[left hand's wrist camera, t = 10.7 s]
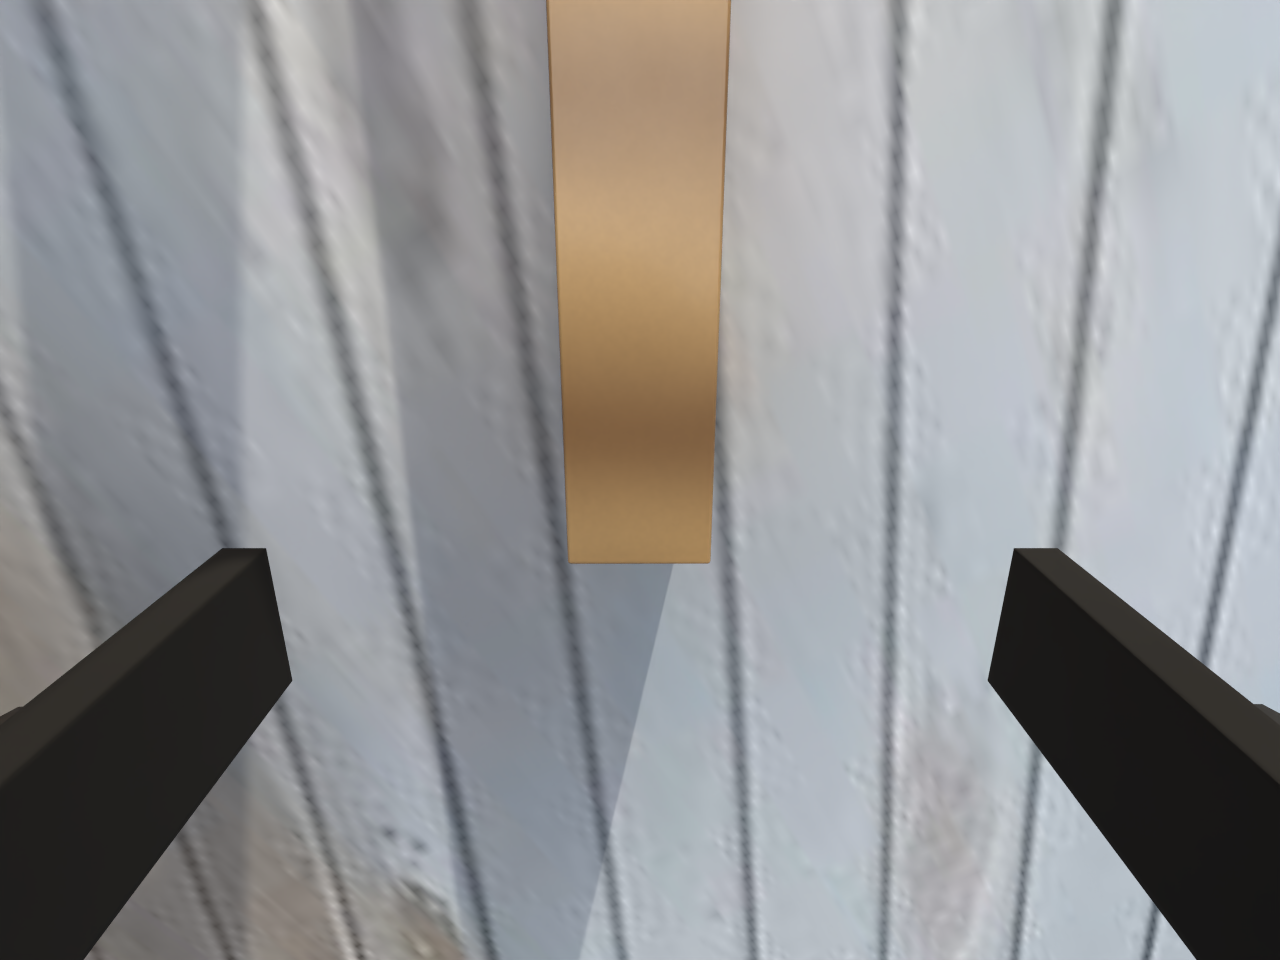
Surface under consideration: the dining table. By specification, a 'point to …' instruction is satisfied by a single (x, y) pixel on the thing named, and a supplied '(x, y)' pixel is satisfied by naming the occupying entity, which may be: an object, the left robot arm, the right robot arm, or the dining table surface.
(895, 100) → the dining table surface
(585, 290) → the bar
